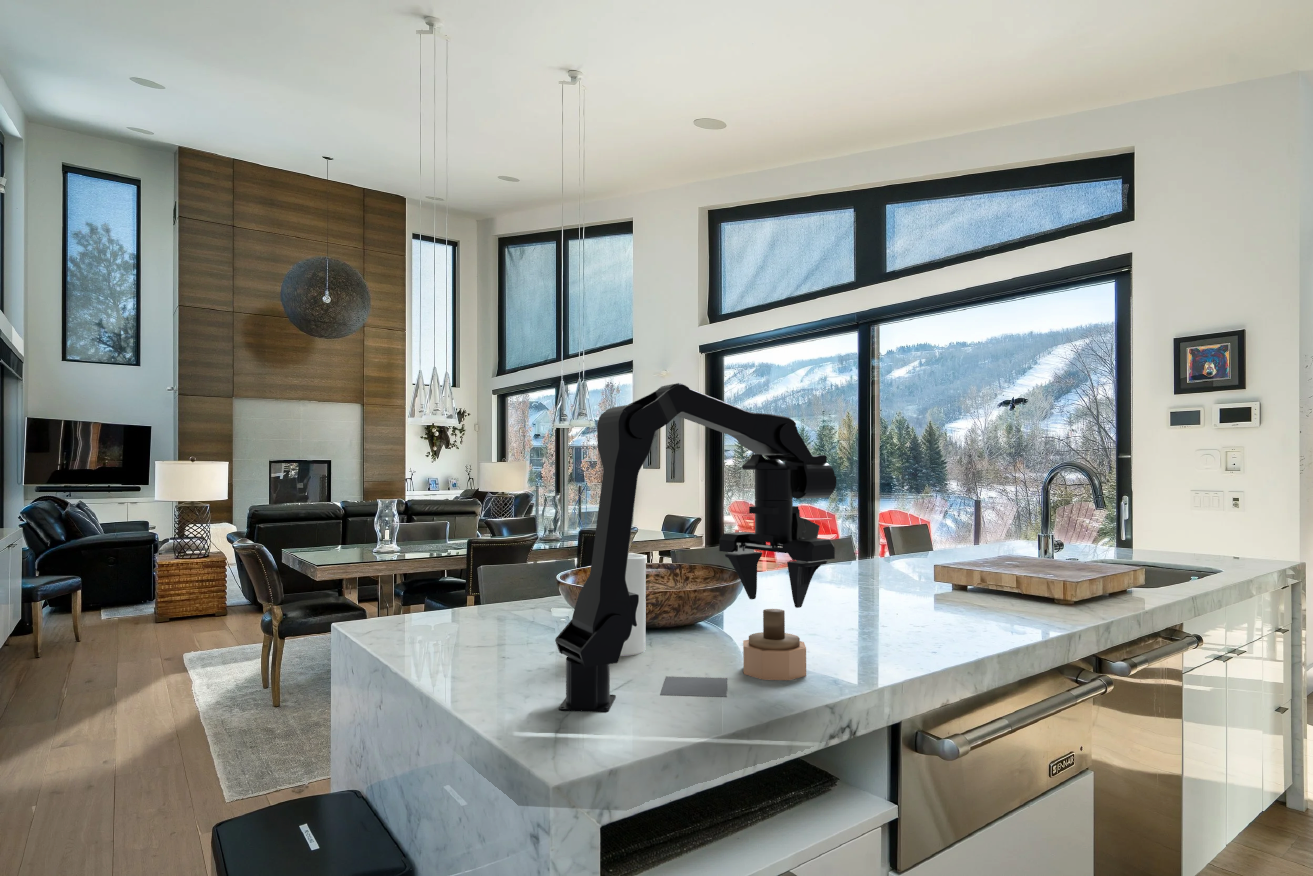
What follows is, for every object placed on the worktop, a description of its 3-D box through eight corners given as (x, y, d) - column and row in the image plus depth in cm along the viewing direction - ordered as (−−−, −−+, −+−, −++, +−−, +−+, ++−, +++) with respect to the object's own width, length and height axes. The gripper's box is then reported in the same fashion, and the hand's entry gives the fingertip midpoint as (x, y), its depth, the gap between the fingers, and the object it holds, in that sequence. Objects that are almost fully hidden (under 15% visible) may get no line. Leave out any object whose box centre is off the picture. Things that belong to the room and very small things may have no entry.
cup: (637, 658, 123) (637, 559, 124) (589, 655, 125) (590, 557, 126) (651, 647, 131) (651, 554, 132) (606, 645, 133) (606, 553, 134)
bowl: (808, 683, 109) (807, 652, 109) (743, 681, 110) (743, 650, 110) (802, 666, 118) (802, 638, 118) (743, 665, 119) (743, 636, 119)
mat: (726, 699, 101) (726, 696, 101) (659, 697, 102) (659, 694, 102) (727, 680, 110) (727, 678, 110) (665, 679, 111) (665, 676, 111)
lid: (801, 650, 110) (801, 616, 110) (749, 649, 111) (749, 615, 111) (797, 639, 118) (797, 606, 118) (748, 638, 118) (748, 605, 119)
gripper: (857, 500, 113) (858, 605, 112) (764, 496, 127) (765, 589, 127) (808, 502, 106) (810, 615, 105) (716, 498, 120) (717, 597, 120)
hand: (774, 603), depth 115 cm, fingers open, 9 cm apart
